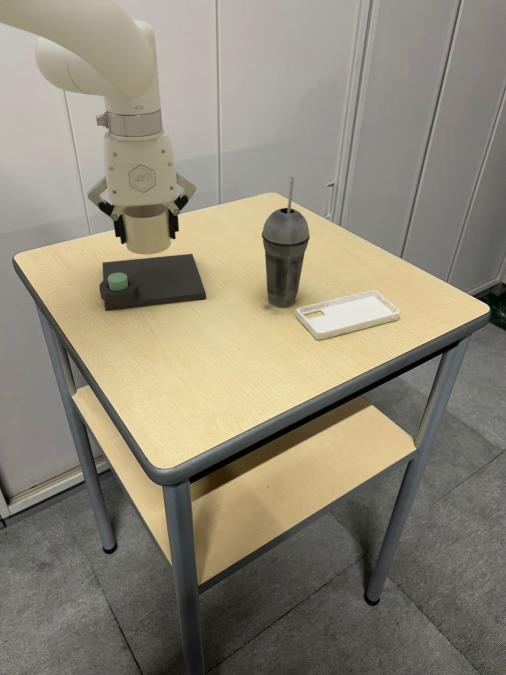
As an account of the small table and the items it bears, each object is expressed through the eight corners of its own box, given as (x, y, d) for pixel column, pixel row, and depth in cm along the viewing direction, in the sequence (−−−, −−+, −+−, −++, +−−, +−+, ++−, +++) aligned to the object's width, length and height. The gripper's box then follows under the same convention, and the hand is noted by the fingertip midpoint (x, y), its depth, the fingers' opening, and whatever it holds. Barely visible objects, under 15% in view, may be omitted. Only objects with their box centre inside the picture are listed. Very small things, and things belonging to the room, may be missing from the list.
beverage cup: (251, 304, 83) (254, 183, 72) (271, 284, 89) (277, 168, 77) (292, 317, 81) (302, 193, 69) (310, 295, 86) (322, 176, 74)
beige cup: (127, 256, 80) (122, 220, 77) (124, 236, 86) (119, 202, 82) (173, 252, 82) (170, 216, 78) (168, 232, 88) (165, 198, 84)
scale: (102, 312, 81) (99, 296, 79) (100, 268, 92) (98, 253, 90) (206, 300, 84) (206, 284, 82) (192, 259, 95) (191, 244, 94)
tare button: (109, 292, 81) (107, 282, 79) (108, 283, 83) (107, 273, 82) (129, 290, 81) (127, 280, 80) (127, 281, 83) (126, 271, 82)
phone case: (317, 341, 76) (401, 319, 81) (318, 333, 75) (402, 311, 80) (294, 315, 81) (373, 296, 86) (294, 307, 80) (375, 289, 85)
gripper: (69, 133, 68) (92, 254, 79) (200, 126, 72) (205, 243, 82) (71, 118, 74) (92, 233, 84) (192, 113, 77) (197, 223, 88)
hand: (147, 237), depth 83 cm, fingers closed on beige cup, 7 cm apart
